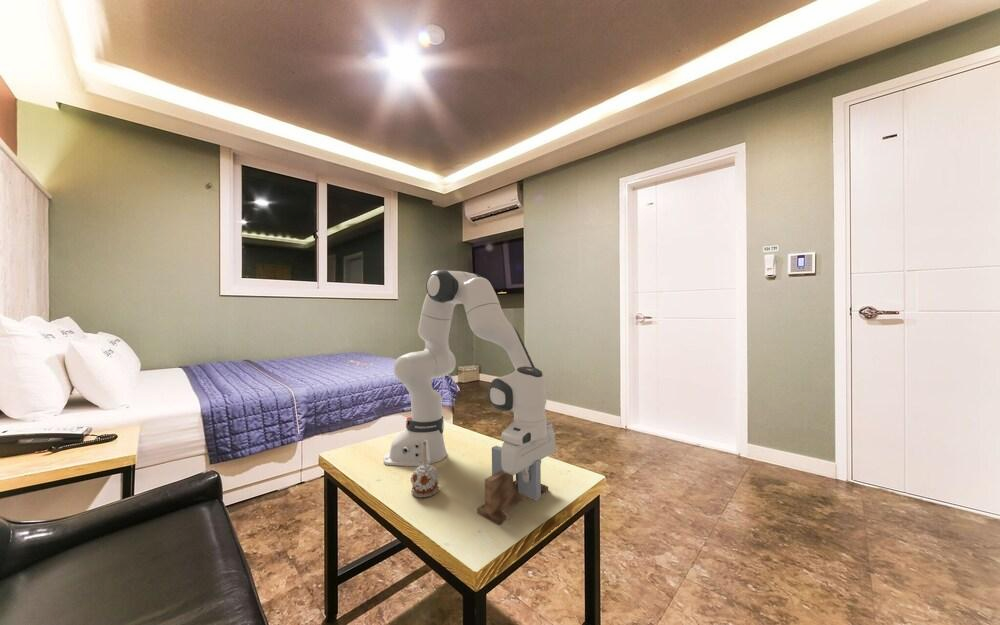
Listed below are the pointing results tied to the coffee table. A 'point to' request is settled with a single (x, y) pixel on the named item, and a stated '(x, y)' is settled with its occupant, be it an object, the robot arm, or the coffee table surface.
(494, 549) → the coffee table surface
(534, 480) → the grey plate
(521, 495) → the walnut crosspiece
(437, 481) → the decorative ornament
